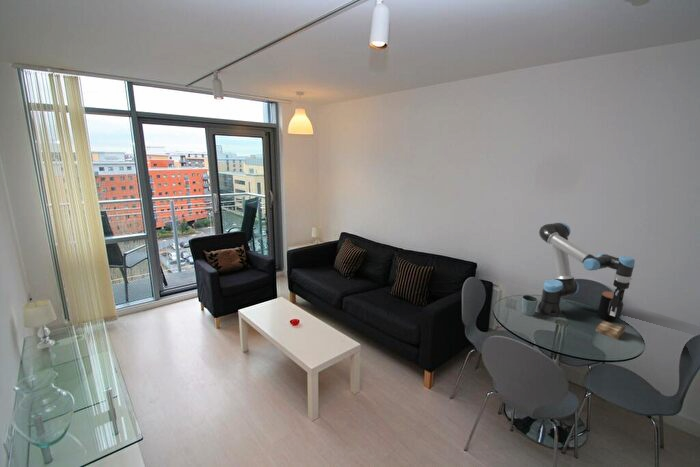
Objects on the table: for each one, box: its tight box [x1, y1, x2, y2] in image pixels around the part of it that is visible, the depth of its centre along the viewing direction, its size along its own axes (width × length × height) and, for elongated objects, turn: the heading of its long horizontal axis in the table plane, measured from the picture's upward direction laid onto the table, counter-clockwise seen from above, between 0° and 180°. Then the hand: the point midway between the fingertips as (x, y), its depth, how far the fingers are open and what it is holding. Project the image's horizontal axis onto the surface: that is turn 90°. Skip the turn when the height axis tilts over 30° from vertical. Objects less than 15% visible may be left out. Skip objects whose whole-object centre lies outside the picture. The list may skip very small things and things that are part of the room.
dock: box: [595, 320, 626, 341], centre depth 210 cm, size 12×13×5 cm
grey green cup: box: [521, 294, 539, 317], centre depth 233 cm, size 10×10×12 cm
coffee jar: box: [597, 290, 618, 322], centre depth 225 cm, size 11×11×18 cm
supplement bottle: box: [608, 297, 625, 318], centre depth 205 cm, size 7×7×12 cm
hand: (614, 313), depth 207 cm, fingers closed on supplement bottle, 7 cm apart
